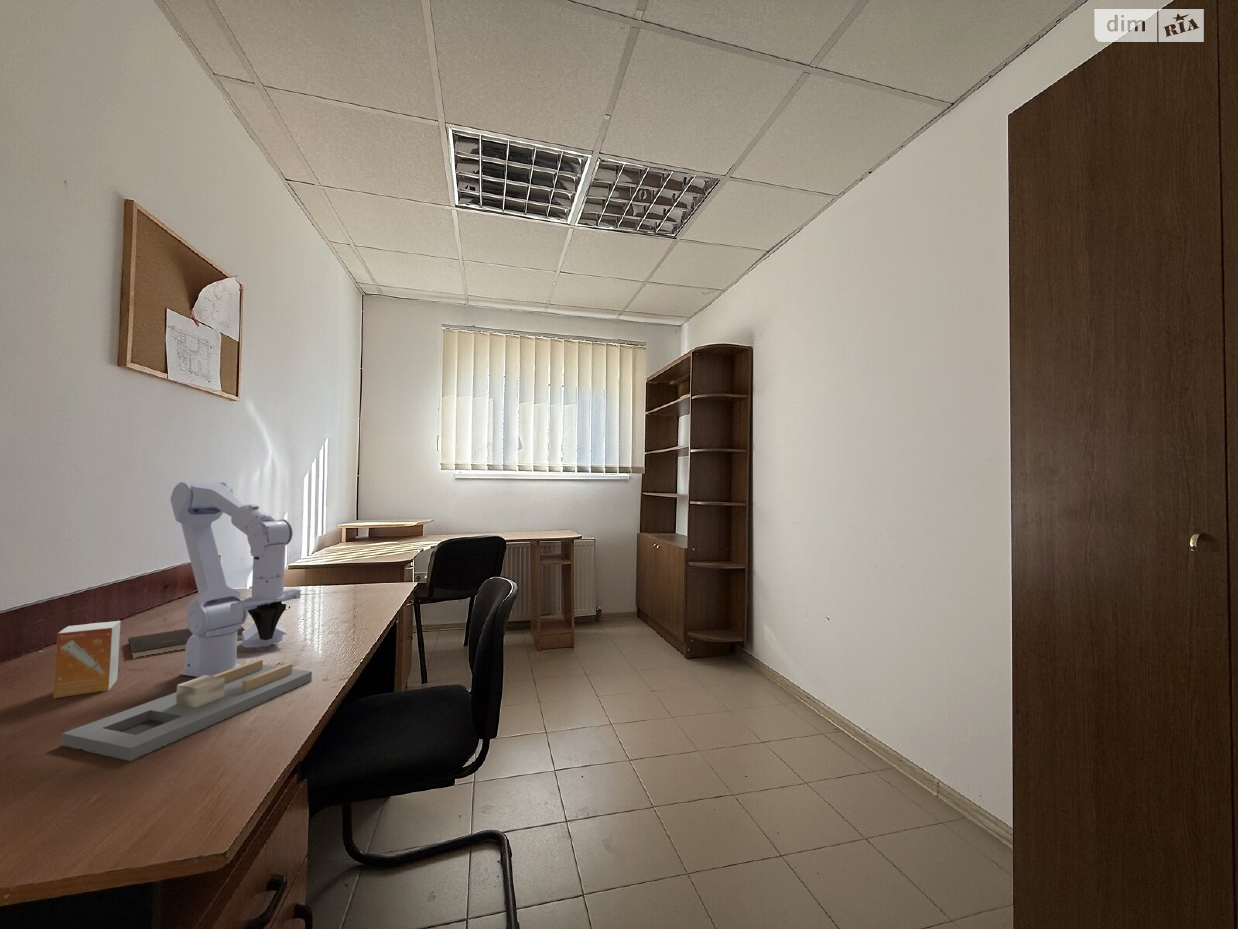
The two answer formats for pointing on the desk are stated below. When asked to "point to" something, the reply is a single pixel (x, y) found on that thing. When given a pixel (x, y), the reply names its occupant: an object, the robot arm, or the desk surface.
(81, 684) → the small box
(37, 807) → the desk surface
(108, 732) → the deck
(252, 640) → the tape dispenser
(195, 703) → the wooden block
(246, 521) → the robot arm
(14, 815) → the desk surface
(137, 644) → the hardcover book
